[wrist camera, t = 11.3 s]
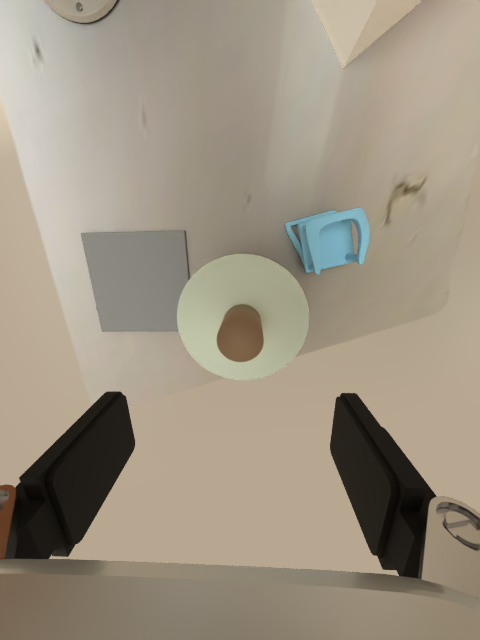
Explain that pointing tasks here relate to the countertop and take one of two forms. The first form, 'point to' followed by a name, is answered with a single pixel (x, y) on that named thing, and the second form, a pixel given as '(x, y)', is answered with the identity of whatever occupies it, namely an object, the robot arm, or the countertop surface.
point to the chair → (330, 239)
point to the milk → (359, 22)
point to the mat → (137, 278)
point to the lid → (243, 317)
